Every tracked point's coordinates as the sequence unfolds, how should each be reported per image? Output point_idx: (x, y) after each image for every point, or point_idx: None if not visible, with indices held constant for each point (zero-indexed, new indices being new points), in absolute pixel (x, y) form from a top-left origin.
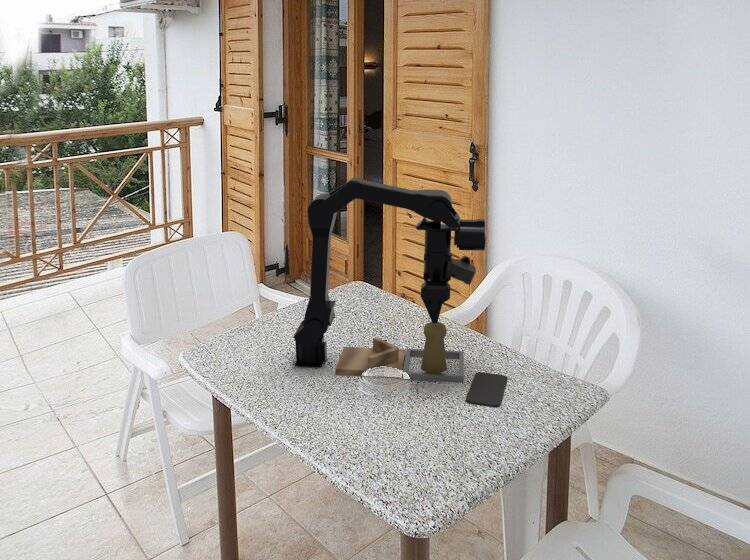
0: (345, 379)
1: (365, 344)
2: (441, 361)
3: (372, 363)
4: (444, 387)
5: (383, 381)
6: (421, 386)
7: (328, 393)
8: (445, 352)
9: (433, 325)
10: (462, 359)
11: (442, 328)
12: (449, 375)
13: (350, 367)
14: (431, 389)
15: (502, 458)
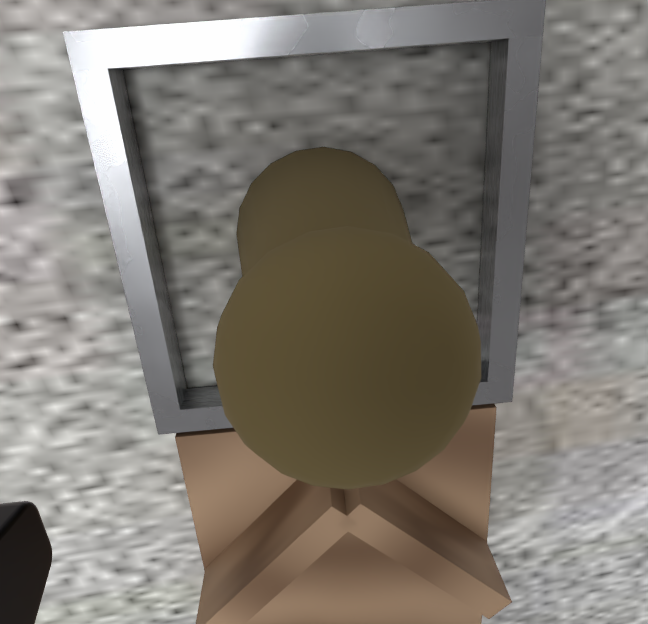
0: (509, 593)
1: (107, 603)
2: (389, 197)
3: (491, 567)
4: (594, 138)
5: (523, 458)
6: (579, 275)
7: (636, 615)
8: (132, 183)
9: (415, 419)
10: (235, 30)
11: (437, 299)
12: (534, 116)
13: (459, 618)
14: (618, 215)
15: None
